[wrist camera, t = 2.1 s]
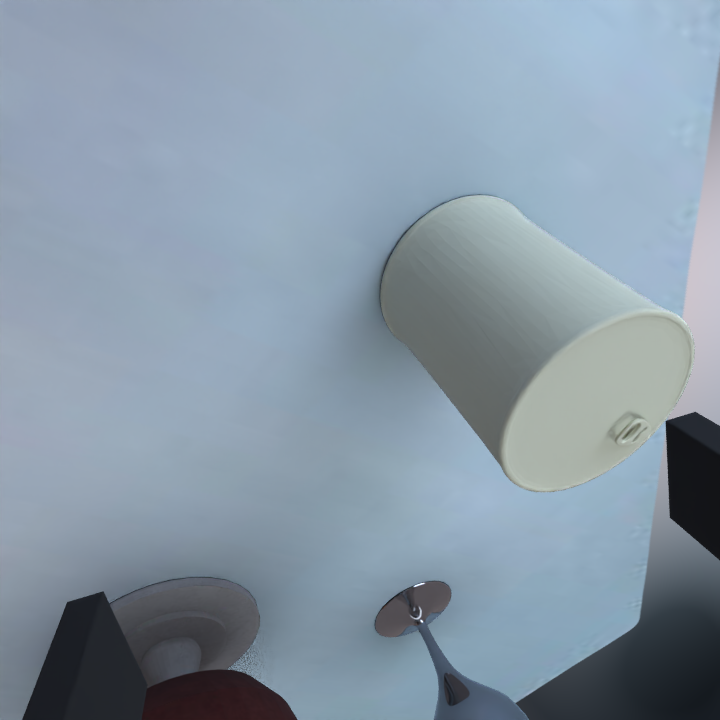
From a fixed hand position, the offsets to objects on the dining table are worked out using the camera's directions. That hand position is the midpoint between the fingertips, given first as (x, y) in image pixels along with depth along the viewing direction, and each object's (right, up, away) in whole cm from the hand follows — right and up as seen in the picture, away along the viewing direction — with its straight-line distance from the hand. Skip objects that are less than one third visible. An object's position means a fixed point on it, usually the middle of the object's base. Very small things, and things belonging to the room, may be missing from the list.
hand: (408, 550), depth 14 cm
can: (+4, +9, +19) cm, 21 cm away
